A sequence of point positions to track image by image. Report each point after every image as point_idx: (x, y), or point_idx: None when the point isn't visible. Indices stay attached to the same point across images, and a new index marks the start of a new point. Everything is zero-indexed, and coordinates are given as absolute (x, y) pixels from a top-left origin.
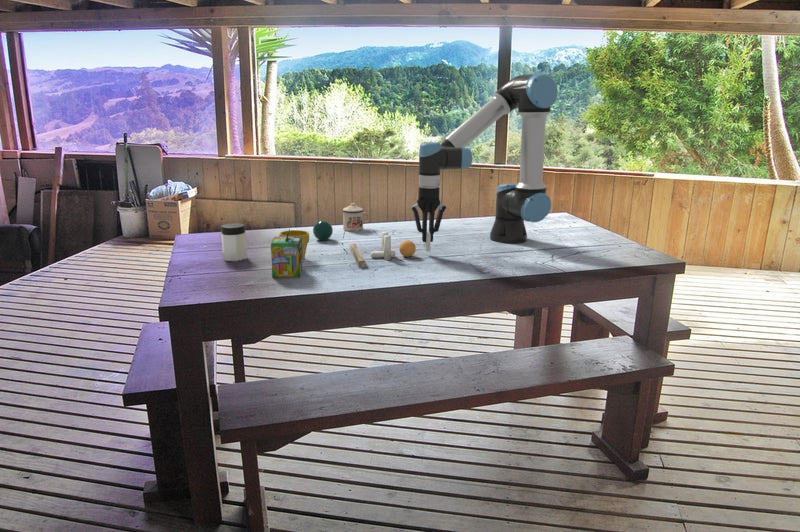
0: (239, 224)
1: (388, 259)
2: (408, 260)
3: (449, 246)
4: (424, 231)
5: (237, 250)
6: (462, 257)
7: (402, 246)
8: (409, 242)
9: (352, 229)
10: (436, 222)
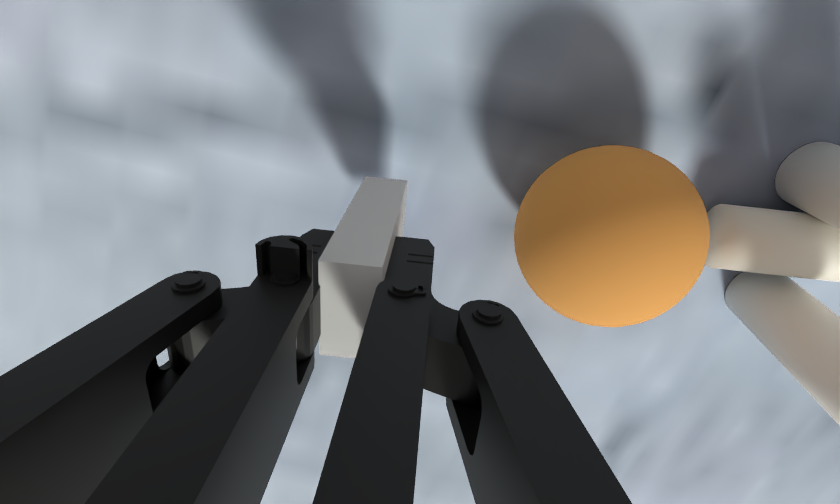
0: None
1: (822, 142)
2: (639, 69)
3: None
4: (415, 298)
5: None
6: (64, 38)
7: (706, 216)
8: (632, 230)
9: None
10: (114, 416)
